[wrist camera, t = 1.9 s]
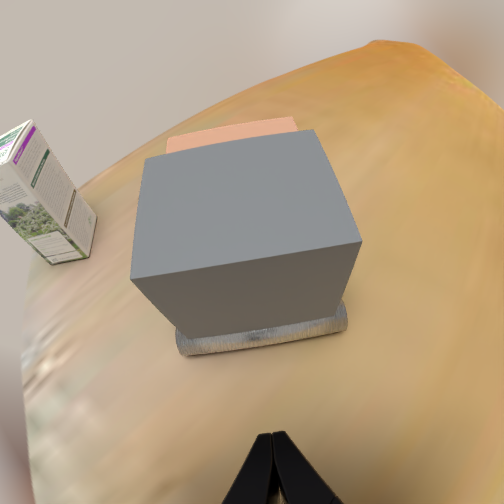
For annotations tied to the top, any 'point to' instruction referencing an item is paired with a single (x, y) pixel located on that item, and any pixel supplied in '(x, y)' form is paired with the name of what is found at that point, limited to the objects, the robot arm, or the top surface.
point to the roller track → (263, 335)
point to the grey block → (243, 235)
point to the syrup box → (42, 198)
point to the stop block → (230, 133)
